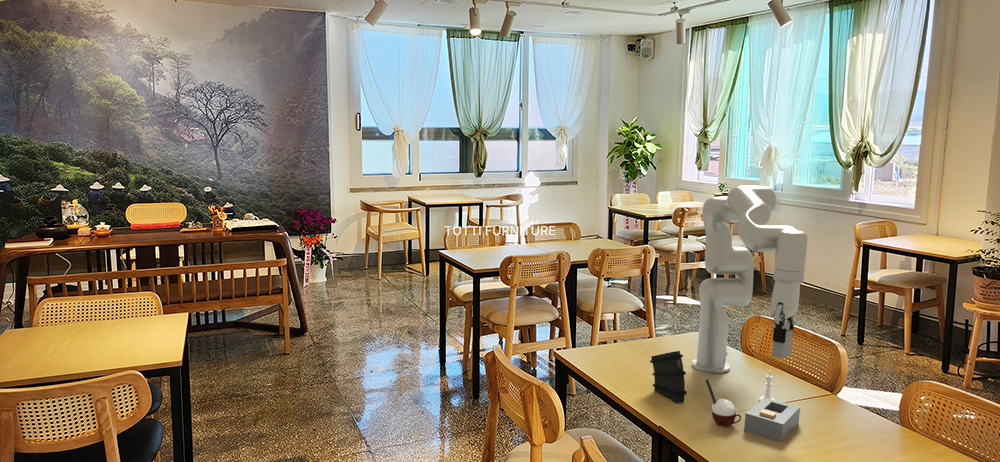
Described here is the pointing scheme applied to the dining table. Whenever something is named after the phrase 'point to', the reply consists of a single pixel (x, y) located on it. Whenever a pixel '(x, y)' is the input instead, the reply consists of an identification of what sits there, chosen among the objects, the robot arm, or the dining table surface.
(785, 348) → the power adapter
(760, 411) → the socket block
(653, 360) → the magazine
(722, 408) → the cocoa
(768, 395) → the chess piece
